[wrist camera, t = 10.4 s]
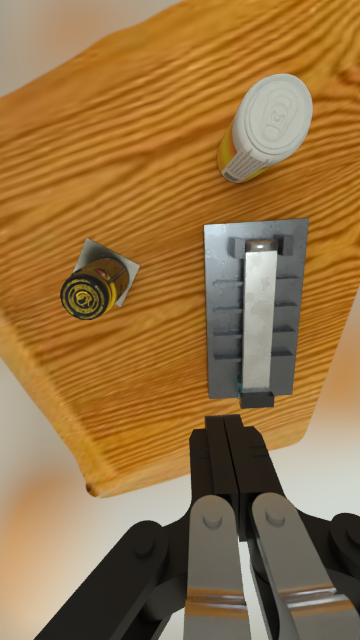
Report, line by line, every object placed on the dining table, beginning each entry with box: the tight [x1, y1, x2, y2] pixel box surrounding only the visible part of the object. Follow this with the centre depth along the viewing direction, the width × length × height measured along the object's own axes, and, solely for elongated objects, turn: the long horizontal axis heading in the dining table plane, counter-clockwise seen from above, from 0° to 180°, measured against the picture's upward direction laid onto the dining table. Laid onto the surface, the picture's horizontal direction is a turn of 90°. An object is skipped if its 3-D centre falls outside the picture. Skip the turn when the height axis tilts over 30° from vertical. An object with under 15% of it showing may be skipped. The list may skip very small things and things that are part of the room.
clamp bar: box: [240, 239, 279, 409], centre depth 38 cm, size 5×25×2 cm, turn 4°
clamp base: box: [203, 218, 309, 399], centre depth 40 cm, size 14×28×6 cm, turn 4°
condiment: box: [60, 238, 140, 320], centre depth 35 cm, size 7×8×12 cm
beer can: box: [217, 74, 313, 183], centre depth 28 cm, size 6×6×15 cm
